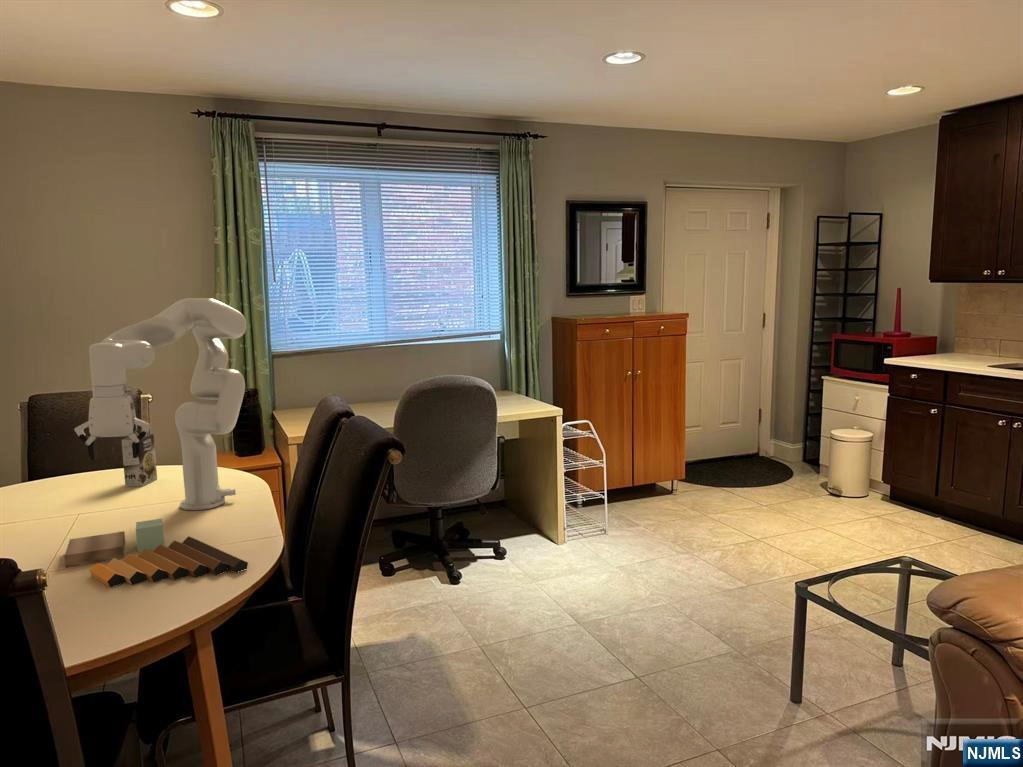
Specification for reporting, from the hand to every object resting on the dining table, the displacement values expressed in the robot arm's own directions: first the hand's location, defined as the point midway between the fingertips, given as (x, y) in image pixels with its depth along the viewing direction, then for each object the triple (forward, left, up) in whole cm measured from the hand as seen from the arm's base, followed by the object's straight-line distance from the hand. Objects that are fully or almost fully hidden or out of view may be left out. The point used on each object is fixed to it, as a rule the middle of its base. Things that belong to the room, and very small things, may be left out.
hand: (115, 458), depth 178 cm
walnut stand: (+6, +6, -23) cm, 24 cm away
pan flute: (-10, +27, -23) cm, 37 cm away
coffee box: (-3, -61, -23) cm, 65 cm away
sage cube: (-6, +6, -23) cm, 24 cm away
